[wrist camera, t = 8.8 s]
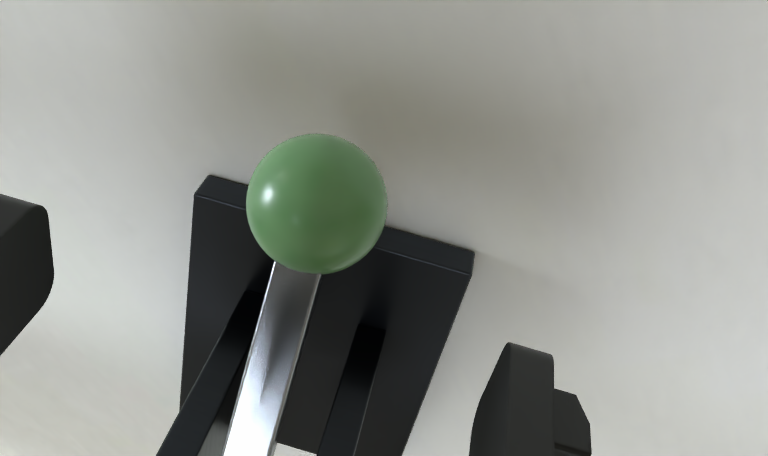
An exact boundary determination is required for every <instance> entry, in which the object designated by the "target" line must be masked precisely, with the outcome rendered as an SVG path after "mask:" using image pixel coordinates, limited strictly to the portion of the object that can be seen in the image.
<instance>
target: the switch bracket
mask: <svg viewBox="0 0 768 456" xmlns="http://www.w3.org/2000/svg"><path fill="white" fill-rule="evenodd" d="M247 190H248V186H245V185H241V184H238V183H234V182H231V181H227V180H224V179H221V178H217V177H214V176H210V175H209V176H207V178H206V179H205V180H204V182H203V183H202V184H201V185H200V187H199V188H198V189H197V191H196V192H195V194H194V204H193V219H192V234H191V248H190V263H189V278H188V292H187V307H186V322H185V336H184V351H183V366H182V380H181V395H180V409H179V414H178V415H177V417H176V419H175V421H174V423H173V425H172V427H171V428H170V430H169V432H168V434H167V436H166V438H165V440H164V442H163V443H162V445H161V447H160V449H159V451H158V453H157V455H156V456H221V453H222V450H223V446H224V442H225V439H226V435H227V431H228V428H229V424H230V420H231V417H232V413H233V409H234V406H235V402H236V398H237V395H238V391H239V387H240V384H241V380H242V376H243V373H244V369H245V366H246V362H247V358H248V355H249V351H250V347H251V344H252V340H253V336H254V333H255V329H256V325H257V322H258V318H259V314H260V311H261V307H262V303H263V300H264V296H265V292H266V289H267V285H268V281H269V278H270V274H271V270H272V267H273V263H274V260H273V259H272V258H271V257H270V256H269V255H268V254H266V252H265V251H264V250H263V249H262V248H261V247H260V245H259V244H258V242H257V241H256V239H255V237H254V235H253V233H252V231H251V228H250V225H249V222H248V218H247V211H246V197H247ZM474 256H475V254H474V252H472V251H468V250H465V249H461V248H458V247H454V246H451V245H447V244H444V243H441V242H437V241H434V240H430V239H427V238H423V237H420V236H417V235H413V234H410V233H406V232H403V231H399V230H396V229H392V228H389V227H386V226H384V228H383V231H382V233H381V235H380V237H379V239H378V241H377V242H376V244H375V245H374V247H373V248H372V249H371V250H370V251H369V252H368V253H367V255H365V256H364V257H363V258H362V259H361V260H359V261H358V262H356V263H355V264H353V265H352V266H350V267H348V268H346V269H343V270H341V271H338V272H334V273H329V274H324V278H323V281H322V285H321V288H320V292H319V295H318V299H317V302H316V306H315V310H314V313H313V317H312V320H311V324H310V327H309V331H308V334H307V338H306V341H305V345H304V349H303V352H302V356H301V359H300V363H299V366H298V370H297V373H296V377H295V381H294V384H293V388H292V391H291V395H290V398H289V402H288V405H287V409H286V412H285V416H284V420H283V423H282V427H281V430H280V434H279V437H278V441H277V443H280V444H284V445H287V446H290V447H294V448H297V449H301V450H304V451H307V452H311V453H314V454H317V456H402V454H403V451H404V449H405V446H406V444H407V441H408V438H409V436H410V433H411V431H412V428H413V426H414V423H415V420H416V418H417V415H418V413H419V410H420V408H421V405H422V402H423V400H424V397H425V395H426V392H427V389H428V387H429V384H430V382H431V379H432V377H433V374H434V371H435V369H436V366H437V364H438V361H439V359H440V356H441V353H442V351H443V348H444V346H445V343H446V341H447V338H448V335H449V333H450V330H451V328H452V325H453V323H454V320H455V317H456V315H457V312H458V310H459V307H460V304H461V302H462V299H463V297H464V294H465V292H466V289H467V286H468V284H469V281H470V279H471V276H472V271H473V263H474Z"/></svg>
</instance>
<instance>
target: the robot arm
mask: <svg viewBox="0 0 768 456" xmlns="http://www.w3.org/2000/svg"><path fill="white" fill-rule="evenodd" d="M53 279H54V267H53V257H52V248H51V238H50V229H49V219H48V213H47V211H46V209H45V208H44V207H43V206H41V205H37V204H34V203H30V202H27V201H23V200H20V199H16V198H13V197H9V196H6V195H2V194H0V355H1V354H2V353H3V352H4V351H5V350H6V348H7V347H8V346H9V345H10V344H11V343H12V341H13V340H14V339H15V338H16V337H17V336H18V334H19V333H20V332H21V331H22V330H23V329H24V327H25V326H26V325H27V324H28V323H29V322H30V320H31V319H32V318H33V317H34V316H35V315H36V313H37V312H38V311H39V310H40V309H41V307H42V306H43V305H44V303H45V302H46V300H47V298H48V296H49V294H50V291H51V288H52V284H53ZM591 454H592V453H591V436H590V423H589V421H588V419H587V417H586V415H585V413H584V411H583V409H582V407H581V405H580V402H579V400H578V398H577V396H576V395H575V394H571V393H568V392H564V391H561V390H557V389H554V361H553V356H552V355H551V354H548V353H544V352H541V351H537V350H534V349H531V348H527V347H524V346H520V345H517V344H513V343H510V342H508V343H507V344H506V345H505V347H504V349H503V351H502V353H501V355H500V357H499V360H498V362H497V364H496V366H495V368H494V370H493V373H492V375H491V377H490V379H489V381H488V384H487V386H486V388H485V390H484V392H483V394H482V397H481V399H480V402H479V404H478V407H477V411H476V414H475V418H474V422H473V427H472V433H471V442H470V451H469V456H591Z"/></svg>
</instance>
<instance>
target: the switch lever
mask: <svg viewBox="0 0 768 456" xmlns="http://www.w3.org/2000/svg"><path fill="white" fill-rule="evenodd" d="M387 207H388V203H387V193H386V187H385V184H384V181H383V178H382V176H381V174H380V172H379V170H378V168H377V167H376V165H375V164H374V162H373V161H372V160H371V159H370V157H369V156H368V155H367V154H366V153H365V152H364V151H363V150H361V149H360V148H359V147H357V146H356V145H354V144H353V143H351V142H349V141H347V140H345V139H342V138H340V137H337V136H333V135H328V134H307V135H301V136H297V137H294V138H291V139H288V140H286V141H284V142H282V143H281V144H279V145H277V146H276V147H274V148H273V149H272V150H271V151H270V152H269V153H267V154H266V156H265V157H264V158H263V159H262V160H261V161H260V163H259V164H258V166H257V167H256V169H255V171H254V173H253V175H252V177H251V180H250V183H249V186H248V190H247V197H246V211H247V218H248V222H249V225H250V228H251V231H252V233H253V235H254V237H255V239H256V241H257V242H258V244H259V245H260V247H261V248H262V249H263V250H264V251H265V252H266V254H268V255H269V256H270V257H271V258H272V259H273V260H274V263H273V267H272V270H271V274H270V278H269V281H268V285H267V289H266V292H265V296H264V300H263V303H262V307H261V311H260V314H259V318H258V322H257V325H256V329H255V333H254V336H253V340H252V344H251V347H250V351H249V355H248V358H247V362H246V366H245V369H244V373H243V376H242V380H241V384H240V387H239V391H238V395H237V398H236V402H235V406H234V409H233V413H232V417H231V420H230V424H229V428H228V431H227V435H226V439H225V442H224V446H223V450H222V453H221V456H273V455H274V451H275V448H276V444H277V441H278V437H279V434H280V430H281V427H282V423H283V420H284V416H285V412H286V409H287V405H288V402H289V398H290V395H291V391H292V388H293V384H294V381H295V377H296V373H297V370H298V366H299V363H300V359H301V356H302V352H303V349H304V345H305V341H306V338H307V334H308V331H309V327H310V324H311V320H312V317H313V313H314V310H315V306H316V302H317V299H318V295H319V292H320V288H321V285H322V281H323V278H324V274H329V273H334V272H338V271H341V270H343V269H346V268H348V267H350V266H352V265H353V264H355V263H356V262H358V261H359V260H361V259H362V258H363V257H364V256H365V255H367V253H368V252H369V251H370V250H371V249H372V248H373V247H374V245H375V244H376V242H377V241H378V239H379V237H380V235H381V233H382V231H383V228H384V225H385V221H386V217H387Z"/></svg>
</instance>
